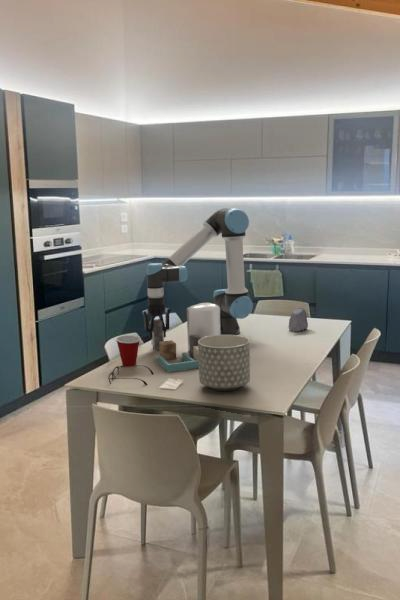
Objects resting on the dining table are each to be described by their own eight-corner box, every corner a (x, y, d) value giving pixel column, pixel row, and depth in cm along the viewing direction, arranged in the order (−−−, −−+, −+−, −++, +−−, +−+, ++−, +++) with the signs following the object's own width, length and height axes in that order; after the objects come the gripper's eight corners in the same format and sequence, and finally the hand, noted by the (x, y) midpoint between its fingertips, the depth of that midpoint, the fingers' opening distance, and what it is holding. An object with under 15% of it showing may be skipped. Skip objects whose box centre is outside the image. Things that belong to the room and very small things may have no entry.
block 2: (200, 355, 258) (199, 334, 257) (211, 363, 245) (210, 341, 244) (187, 357, 256) (187, 335, 255) (198, 365, 243) (197, 342, 242)
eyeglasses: (117, 373, 237) (116, 364, 236) (154, 374, 235) (154, 364, 234) (106, 387, 221) (106, 377, 220) (147, 387, 219) (146, 377, 218)
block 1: (162, 347, 274) (161, 318, 272) (176, 358, 255) (175, 327, 252) (150, 348, 272) (149, 320, 270) (163, 360, 253) (162, 329, 250)
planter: (192, 393, 209) (190, 345, 206) (209, 377, 227) (208, 333, 223) (241, 398, 202) (240, 349, 199) (256, 381, 220) (255, 336, 217)
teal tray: (208, 355, 258) (208, 349, 257) (221, 364, 244) (221, 357, 243) (157, 362, 250) (157, 355, 249) (167, 372, 236) (167, 365, 235)
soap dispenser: (205, 343, 279) (203, 299, 275) (229, 347, 271) (228, 301, 267) (186, 350, 267) (185, 304, 263) (211, 355, 259) (210, 307, 255)
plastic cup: (133, 369, 240) (132, 342, 238) (112, 367, 245) (110, 339, 243) (146, 362, 250) (145, 336, 248) (125, 360, 255) (124, 334, 252)
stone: (296, 329, 309) (312, 326, 303) (288, 337, 301) (305, 333, 295) (288, 310, 307) (304, 306, 301) (280, 316, 300) (296, 312, 293)
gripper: (170, 293, 273) (172, 341, 278) (136, 296, 268) (138, 345, 272) (175, 296, 266) (177, 344, 271) (139, 299, 261) (142, 348, 265)
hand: (157, 344), depth 271 cm, fingers closed on block 1, 4 cm apart
